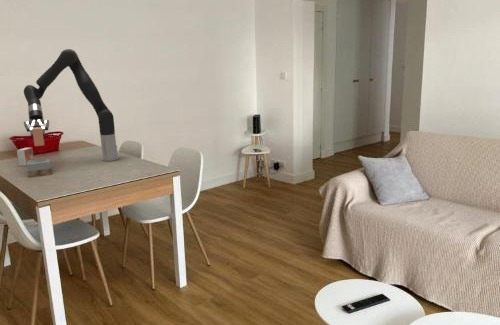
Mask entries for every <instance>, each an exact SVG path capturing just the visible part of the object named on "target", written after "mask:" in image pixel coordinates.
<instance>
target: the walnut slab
mask: <svg viewBox="0 0 500 325" xmlns="http://www.w3.org/2000/svg"><path fill="white" fill-rule="evenodd" d="M27 172H28V178H33V177H35V178H36V177H42V176H48V175H49V176H50V175H53V171H52V168H51V169H43V170H35V171H28V170H27Z"/></svg>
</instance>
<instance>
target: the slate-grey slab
mask: <svg viewBox="0 0 500 325" xmlns="http://www.w3.org/2000/svg"><path fill="white" fill-rule="evenodd" d="M26 167H27V172H28V171H35V170H43V169H51V170H52V163H51V159H50V157H49V158H40V159H34V160H29V161H27V166H26Z"/></svg>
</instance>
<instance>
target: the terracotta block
mask: <svg viewBox="0 0 500 325" xmlns="http://www.w3.org/2000/svg"><path fill="white" fill-rule="evenodd" d="M32 131H33V137H32V138H33V143H34V147H42V146H45V139H44V136H43V132H42V127H36V128H32Z"/></svg>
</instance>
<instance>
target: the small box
mask: <svg viewBox="0 0 500 325" xmlns="http://www.w3.org/2000/svg"><path fill="white" fill-rule="evenodd" d="M16 152H17V153H16V155H17V160H18V167H19V166H21V167H28V166H27V161H29V160H35V157H34V150H33V147H24V148H20V149H17V150H16Z"/></svg>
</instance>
